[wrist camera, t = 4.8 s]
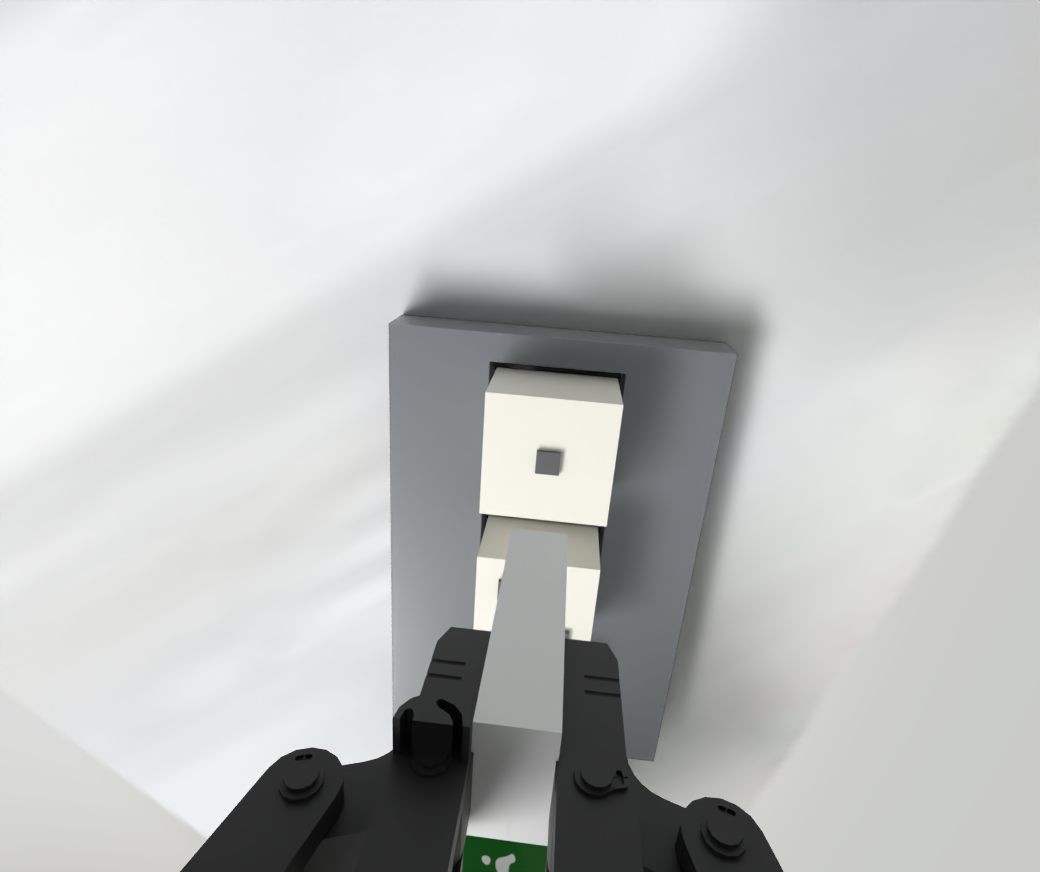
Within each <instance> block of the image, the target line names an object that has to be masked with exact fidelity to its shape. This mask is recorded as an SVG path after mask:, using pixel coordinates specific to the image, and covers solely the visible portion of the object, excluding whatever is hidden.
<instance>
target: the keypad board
mask: <svg viewBox="0 0 1040 872" xmlns="http://www.w3.org/2000/svg"><path fill="white" fill-rule="evenodd" d="M736 359H737V353H736V352H735V351H734V350H733V349H732V348H731V347H730V346H729V345H728V344H726V343H720V342H709V341H697V340H686V339H674V338H663V337H651V336H640V335H628V334H617V333H605V332H594V331H582V330H571V329H559V328H548V327H536V326H525V325H513V324H502V323H490V322H479V321H467V320H456V319H444V318H433V317H421V316H410V315H401V316H399V317H398V318H396V319H395V320H393V321H392V322H390V323H389V393H390V488H391V583H392V678H393V716H394V715H395V713H396V712H397V710H398V708H399V707H400V706H401V705H402V704H404V703H405V702H406V701H408V700H409V699H410V698H413V697H416V696H419V695H420V693H421V690H422V687H423V684H424V680H425V677H426V676H427V671H428V668H429V665H430V662H431V660H432V656H433V653H434V649H435V646H436V643H437V641H438V640H439V639H440V638H441V637H442V636H443V635H444V634H445V633H446V631H447V630H448V629H449V628H450V627H458V628H466V629H473V627H474V607H475V587H476V568H477V555H478V552H479V548H480V544H481V541H482V537H483V534H484V530H485V527H486V514H481V513H479V508H480V488H481V469H482V449H483V429H484V409H485V392H486V390H487V388H488V386H489V383H490V381H491V379H492V377H493V375H494V370H495V362H501V363H512V364H523V365H534V366H545V367H556V368H567V369H578V370H589V371H600V372H612V373H621V380H620V391H621V396H622V400H623V412H622V419H621V427H620V434H619V441H618V448H617V455H616V462H615V470H614V477H613V484H612V491H611V498H610V505H609V513H608V520H607V527H605V526H601V528H600V535H599V554H600V577H599V584H598V591H597V598H596V606H595V613H594V620H593V627H592V634H591V642H600V643H607V644H608V646H609V647H610V649H611V650H612V652H613V654H614V655H615V657H616V658H617V660H618V668H619V683H620V690H621V702H622V713H623V724H624V735H625V746H626V756H627V758H631V759H639V760H647V761H654V757H655V752H656V747H657V742H658V737H659V732H660V728H661V723H662V718H663V713H664V708H665V703H666V698H667V694H668V689H669V684H670V679H671V674H672V669H673V664H674V660H675V655H676V650H677V645H678V640H679V635H680V630H681V626H682V621H683V616H684V611H685V606H686V601H687V597H688V592H689V587H690V582H691V577H692V572H693V567H694V563H695V558H696V553H697V548H698V543H699V538H700V533H701V529H702V524H703V519H704V514H705V509H706V504H707V499H708V495H709V490H710V485H711V480H712V475H713V470H714V466H715V461H716V456H717V451H718V446H719V441H720V436H721V432H722V427H723V422H724V417H725V412H726V407H727V402H728V398H729V393H730V388H731V383H732V378H733V373H734V368H735V364H736Z"/></svg>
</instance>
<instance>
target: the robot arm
mask: <svg viewBox="0 0 1040 872" xmlns="http://www.w3.org/2000/svg"><path fill="white" fill-rule="evenodd" d="M567 545H568V534H561V533H551V532H542V531H533V530H523V529H514V528H512V531H511V536H510V541H509V546H508V551H507V556H506V561H505V566H504V571H503V576H502V580H501V585H500V590H499V595H498V600H497V605H496V610H495V615H494V620H493V625H492V630H491V631H484V630H475V629H466V628H458V627H450V628H449V629H448V630H447V631H446V633H445V634H444V635H443V636H442V637H441V638H440V639H439V640H438V641H437V643H436V646H435V649H434V653H433V656H432V660H431V662H430V665H429V668H428V671H427V676H426V677H425V680H424V684H423V687H422V690H421V693H420V695H419V696H416V697H413V698H410V699H409V700H408V701H406V702H405V703H404V704H402V705H401V706H400V707H399V708H398V710H397V712H396V713H395V715H394V716H393V750H392V751H391V752H389V753H388V754H386V755H384V756H381V757H379V758H377V759H374V760H370V761H366V762H360V763H354V764H348V765H341V763H340V761H339V759H338V758H337V757H336V756H335V755H333V754H332V753H330V752H329V751H327V750H323V749H317V748H306V749H300V750H295V751H293V752H291V753H289V754H287V755H285V756H283V757H281V758H280V759H278V760H277V761H276V762H275V763H274V764H273V765H272V766H270V767H269V768H268V769H267V770H266V772H265V773H264V774H263V775H262V776H261V778H260V779H259V780H258V781H257V782H256V783H255V785H254V786H253V787H252V788H251V789H250V790H249V792H248V793H247V794H246V795H245V796H244V797H243V799H242V800H241V801H240V802H239V803H238V804H237V806H236V807H235V808H234V809H233V810H232V812H231V813H230V814H229V815H228V816H227V817H226V819H225V820H224V821H223V822H222V823H221V824H220V826H219V827H218V828H217V829H216V830H215V831H214V833H213V834H212V835H211V836H210V837H209V838H208V840H207V841H206V842H205V843H204V844H203V846H202V847H201V848H200V849H199V850H198V852H197V853H196V854H195V855H194V856H193V857H192V858H191V860H190V861H189V862H188V863H187V864H186V866H185V867H184V868H183V869H182V870H181V871H180V872H462V869H463V853H464V844H465V838H466V833H467V835H469V836H477V837H484V838H491V839H499V840H506V841H514V842H521V843H528V844H536V845H543V846H547V861H546V869H545V872H783V870H782V868H781V866H780V864H779V862H778V860H777V859H776V857H775V855H774V853H773V851H772V849H771V847H770V845H769V843H768V842H767V840H766V838H765V836H764V834H763V832H762V831H761V830H760V828H759V827H758V825H757V824H756V823H755V821H754V820H753V819H752V817H751V816H750V815H748V814H747V813H746V812H745V811H743V810H742V809H741V808H739V807H738V806H737V805H735V804H732V803H730V802H728V801H725V800H723V799H720V798H710V797H704V798H701V799H698V800H694V801H692V802H691V803H690V804H689V805H688V806H687V807H686V808H684V807H681V806H679V805H677V804H674V803H672V802H670V801H668V800H665V799H663V798H661V797H659V796H658V795H656V794H654V793H652V792H651V791H649V790H648V789H647V788H646V787H645V786H643V785H642V784H641V783H640V782H639V780H638V779H637V778H636V777H635V776H634V774H633V772H632V770H631V768H630V766H629V764H628V760H627V756H626V746H625V735H624V724H623V713H622V702H621V690H620V683H619V668H618V660H617V658H616V657H615V655H614V654H613V652H612V650H611V649H610V647H609V646H608V644H607V643H600V642H591V641H583V640H574V639H566V638H565V614H566V580H567Z"/></svg>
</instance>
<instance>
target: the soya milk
mask: <svg viewBox="0 0 1040 872" xmlns="http://www.w3.org/2000/svg"><path fill="white" fill-rule="evenodd" d="M546 861H547V846H543V845H536V844H528V843H521V842H514V841H506V840H499V839H491V838H484V837H477V836H469V835H467V833H466V838H465V844H464V853H463V869H462V872H545V869H546Z"/></svg>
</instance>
